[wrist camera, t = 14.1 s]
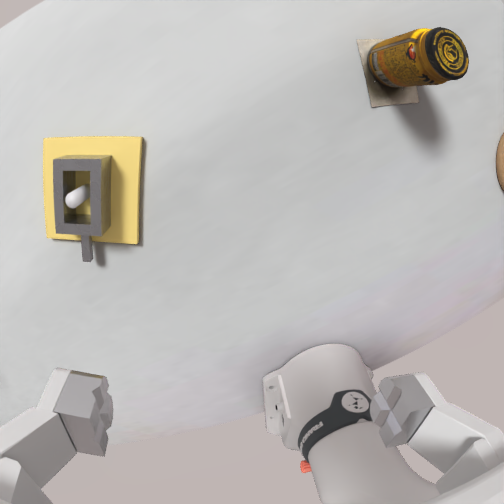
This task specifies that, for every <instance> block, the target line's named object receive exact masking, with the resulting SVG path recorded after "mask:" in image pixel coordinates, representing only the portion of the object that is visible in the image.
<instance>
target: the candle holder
mask: <svg viewBox="0 0 504 504" xmlns="http://www.w3.org/2000/svg"><path fill="white" fill-rule="evenodd" d="M496 169H497V176H498V180H499V183H500V185H501V187H502V189H503V190H504V133H503V135H502V137H501V139H500V141H499V145H498V149H497V156H496Z"/></svg>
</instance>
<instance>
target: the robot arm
mask: <svg viewBox="0 0 504 504" xmlns="http://www.w3.org/2000/svg"><path fill="white" fill-rule="evenodd" d="M372 378H373V372H372V370H371V369H370V368H369V367H368V366H366V365H364V363H363V361H362V358H361V356H360V354H359V353H358V352H357V351H356V350H355V349H354V348H352V347H350V346H347V345H343V344H324V345H320V346H316V347H313V348H310V349H308V350H305V351H303V352H302V353H300V354H298V355H297V356H295V357H294V358H292V359H291V360H290V361H289V362H288V363H287V364H285V365H284V366H283V367H282V368H280V369H278V370H276V371H273V372H271V373H269V374H267V375H266V376H264V377H263V380H262V381H263V395H264V409H265V422H266V429H267V432H268V433H270V434H274V435H278V436H281V437H282V441H283V444H284V446H285V447H287V448H288V449H291V450H297V451H300V452H301V454H302V456H304V458H305V461H301V466H300V467H301V471H302V472H303V473H306V472H310V471H312V474H313V477H314V481H315V484H316V487H317V491H318V494H319V498H320V501H321V502H322V503H323V504H504V434H503V433H502V431H501V430H500V429H499V428H497V427H495V426H493V425H491V424H489V423H488V422H486V421H484V420H482V419H480V418H478V417H476V416H475V415H473V414H471V413H469V412H467V411H465V410H463V409H462V408H460V407H458V406H456V405H454V404H452V403H447V402H446V400H445V399H444V398H443V396H442V395H441V393H440V392H439V391H438V389H437V388H436V387H435V385H434V384H433V382H432V381H431V380H430V378H429V377H428V376H427V374H425V373H423V372H418V373H413V374H406V375H399V376H393V377H387V378H384V379H383V380H382V381H381V383H380V385H379V389H380V391H379V392H378V393H377V392H376V390H375V387H374V385H373V383H372V380H371V379H372ZM108 387H109V385H108V381H107V377H105V376H100V375H95V374H89V373H84V372H78V371H73V370H67V369H62V368H58V367H57V368H56V369H55V370H54V371H53V372H52V374H51V376H50V379H49V381H48V383H47V385H46V387H45V389H44V391H43V394H42V396H41V398H40V400H39V403H38V405H37V407H36V408H35V407H31V408H29V409H28V410H26V411H25V412H23V413H21V414H20V415H18V416H17V417H15V418H14V419H12V420H11V421H9V422H8V423H6V424H4V425H3V426H1V427H0V504H53V503H52V502H51V500H50V499H49V498H48V497H47V496H46V495H45V494H44V493H43V492H42V491H41V488H42V487H43V486H44V485H45V484H46V483H48V481H50V480H51V479H52V478H53V477H54V476H55V475H56V474H57V473H58V472H59V471H60V470H61V469H62V468H63V467H64V466H65V465H66V464H67V463H68V462H69V461H70V460H71V459H72V458H73V457H74V456H75V455H76V454H77V452H80V453H86V454H91V455H97V456H105V452H106V447H107V443H108V436H107V433H106V430H107V429H108V428H110V427H111V424H112V419H113V402H112V397H111V396H110V395H109V394H108V393H107V390H108ZM406 443H408V444H407V445H408V446H410V447H411V448H412V449H413V450H415V451H416V452H417V453H418V454H420V455H421V456H422V457H424V458H425V459H426V460H427V461H429V462H430V463H431V464H432V465H434V466H435V467H436V468H438V469H439V470H440V471H441V472H443V473H444V475H443V476H442V477H441V478H440V479H439V480H438V481H437V483H436V484H434V483H432V482H429V481H427V480H425V479H424V478H422V477H421V476H419V475H418V474H417V473H416V472H414V471H413V470H412V469H411V468H410V466H409V465H408V464H407V462H406V461H405V459H404V458H403V456H402V455H401V453H400V452H399V450H398V449H397V447H396V446H398V445H402V444H406Z"/></svg>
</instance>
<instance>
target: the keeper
mask: <svg viewBox="0 0 504 504" xmlns="http://www.w3.org/2000/svg"><path fill="white" fill-rule="evenodd" d="M142 141H143V137H127V136H86V137H54V138H44V142H43V187H44V209H45V223H46V234H47V238H54V239H69V240H81V235H71V234H56V229H55V215H54V195H53V159H55V158H59V157H62V156H65V155H112V162H111V226H110V227H109V229H108V230H107V231H106V232H105V233H104V234H103V236H92V241H98V242H112V243H127V244H138V242H139V197H140V172H141V155H142ZM65 201H66V204H67V206H68V207H70V208H76V214H89V215H91V214H90V171H76V190H74V191H72V192H70V193H69V194H67V196H66V199H65Z"/></svg>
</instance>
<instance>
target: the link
mask: <svg viewBox="0 0 504 504" xmlns="http://www.w3.org/2000/svg"><path fill="white" fill-rule="evenodd" d="M111 162H112V155H65V156H62V157H59V158H55V159H53V195H54V215H55V229H56V234H71V235H81V244H82V257H83V261H84V262H91V261H92V260H93V248H92V236H103V234H104V233H105V232H106V231H107V230H108V229H109V227H110V226H111ZM76 171H90V214H91V215H89V214H76V208H70V207H68V206H67V204H66V201H65V199H66V196H67V194H69V193H70V192H72V191H74V190H76Z"/></svg>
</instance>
